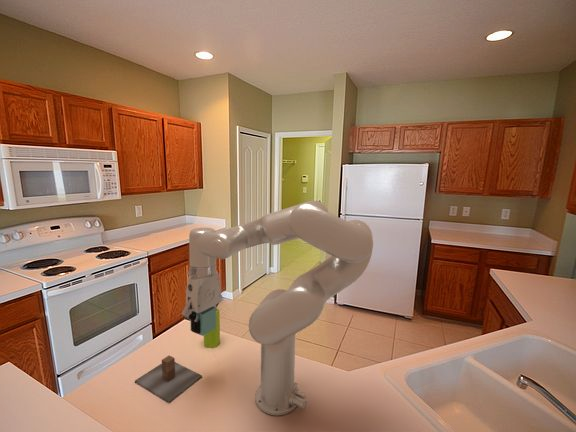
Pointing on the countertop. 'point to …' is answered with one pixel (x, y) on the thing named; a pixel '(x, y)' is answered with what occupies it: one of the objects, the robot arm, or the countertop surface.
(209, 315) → the teal cuboid
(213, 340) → the soap dispenser
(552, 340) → the countertop surface
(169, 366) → the grey base plate
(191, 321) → the robot arm
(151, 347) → the countertop surface
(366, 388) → the countertop surface
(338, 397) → the countertop surface
